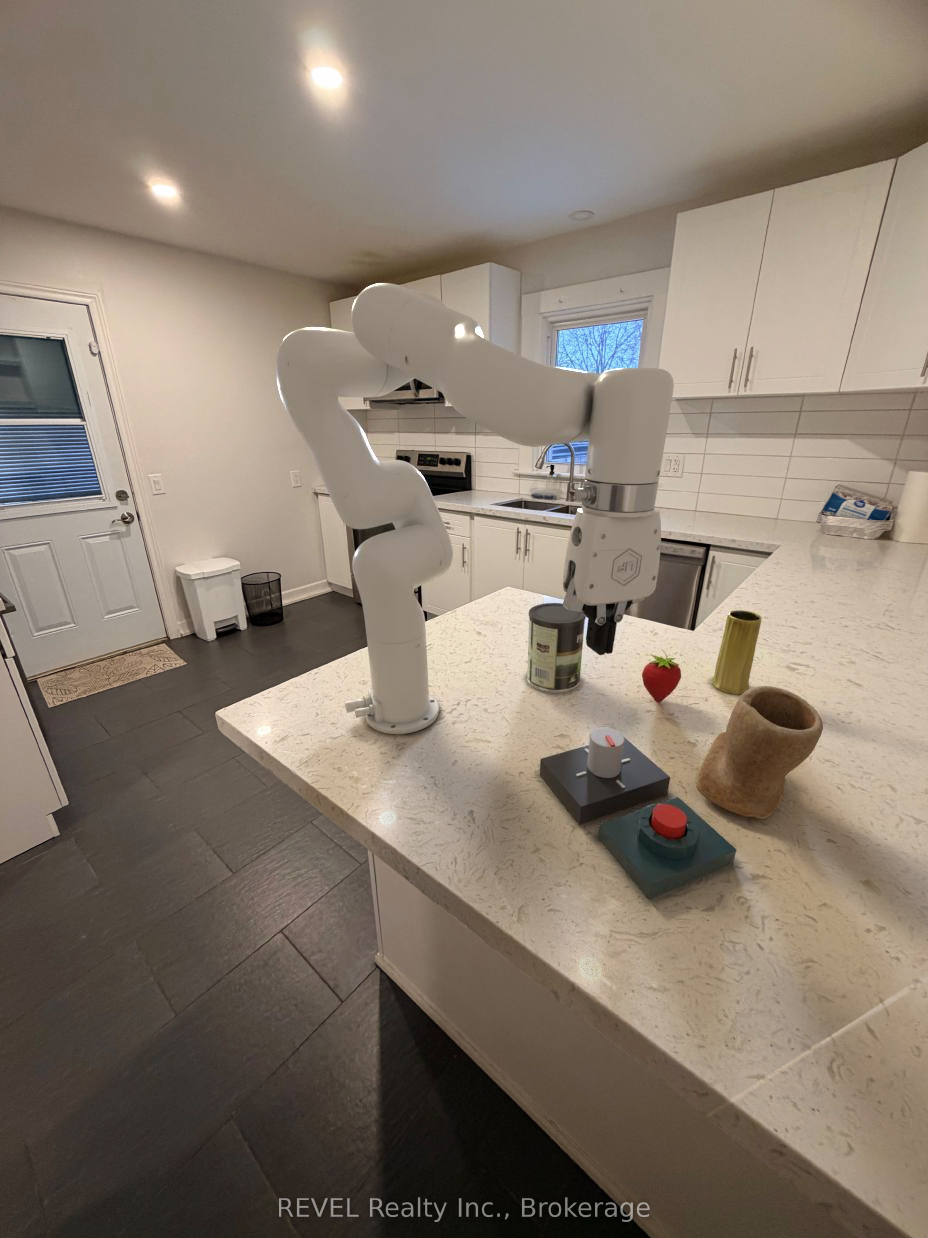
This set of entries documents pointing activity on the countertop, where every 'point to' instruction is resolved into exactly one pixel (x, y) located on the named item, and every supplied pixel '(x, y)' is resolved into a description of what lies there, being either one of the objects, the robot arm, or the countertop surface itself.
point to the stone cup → (758, 751)
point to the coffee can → (555, 648)
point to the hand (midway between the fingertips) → (598, 649)
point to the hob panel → (602, 783)
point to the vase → (737, 652)
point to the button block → (665, 849)
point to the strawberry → (661, 677)
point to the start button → (668, 821)
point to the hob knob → (605, 752)
